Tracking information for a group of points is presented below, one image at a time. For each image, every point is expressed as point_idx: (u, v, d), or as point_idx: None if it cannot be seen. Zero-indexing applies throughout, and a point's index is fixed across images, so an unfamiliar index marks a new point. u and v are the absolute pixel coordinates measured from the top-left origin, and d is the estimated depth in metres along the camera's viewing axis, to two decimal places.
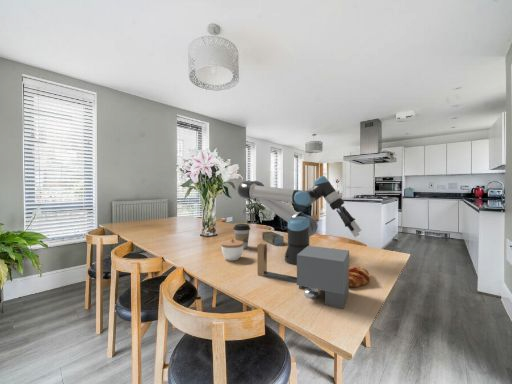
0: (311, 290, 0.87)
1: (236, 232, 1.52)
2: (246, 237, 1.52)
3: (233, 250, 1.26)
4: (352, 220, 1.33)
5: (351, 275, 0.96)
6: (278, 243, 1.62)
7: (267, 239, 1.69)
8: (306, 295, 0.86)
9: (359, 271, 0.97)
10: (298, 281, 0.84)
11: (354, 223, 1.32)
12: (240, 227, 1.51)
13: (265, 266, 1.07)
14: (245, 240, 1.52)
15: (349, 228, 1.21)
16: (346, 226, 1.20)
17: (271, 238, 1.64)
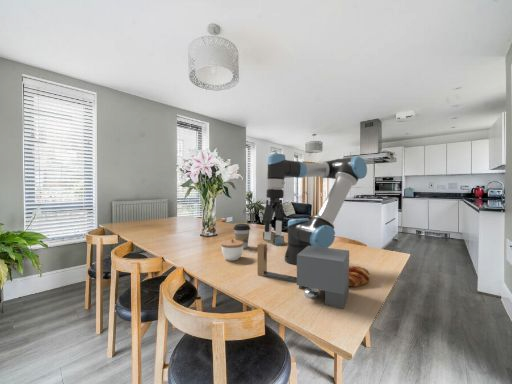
0: (311, 290, 0.87)
1: (236, 232, 1.52)
2: (246, 237, 1.52)
3: (233, 250, 1.26)
4: (280, 219, 1.10)
5: (350, 275, 0.96)
6: (279, 243, 1.62)
7: None
8: (306, 295, 0.86)
9: (358, 271, 0.97)
10: (298, 281, 0.84)
11: (279, 224, 1.09)
12: (240, 227, 1.51)
13: (265, 266, 1.07)
14: (245, 240, 1.52)
15: (265, 227, 0.97)
16: (263, 223, 0.97)
17: (272, 238, 1.64)
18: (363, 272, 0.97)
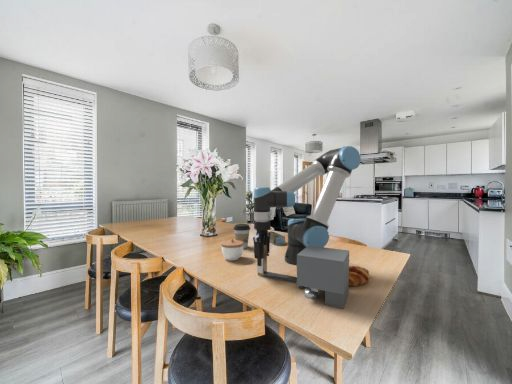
0: (311, 290, 0.87)
1: (236, 232, 1.52)
2: (246, 237, 1.52)
3: (233, 250, 1.26)
4: None
5: (349, 274, 0.97)
6: (279, 243, 1.62)
7: None
8: (306, 295, 0.86)
9: (358, 270, 0.97)
10: (298, 281, 0.84)
11: None
12: (240, 227, 1.51)
13: (265, 266, 1.07)
14: (245, 240, 1.52)
15: None
16: None
17: (272, 238, 1.64)
18: (362, 272, 0.97)
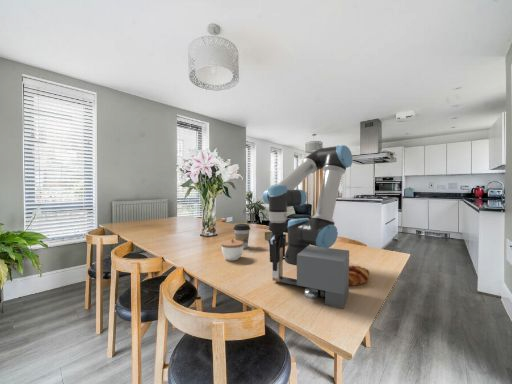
0: (311, 290, 0.87)
1: (236, 232, 1.52)
2: (246, 237, 1.52)
3: (233, 250, 1.26)
4: None
5: None
6: None
7: None
8: (306, 295, 0.86)
9: (357, 270, 0.98)
10: (298, 281, 0.84)
11: None
12: (240, 227, 1.51)
13: (281, 271, 0.99)
14: (245, 240, 1.52)
15: None
16: None
17: None
18: (362, 272, 0.97)
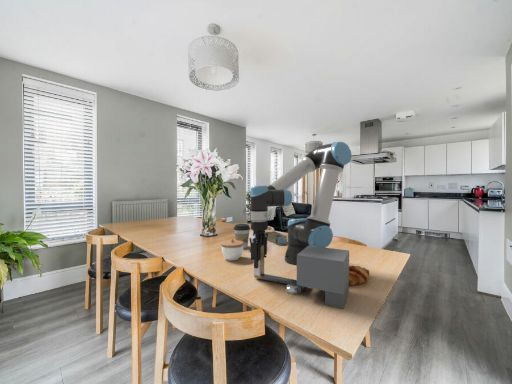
0: (292, 286, 0.91)
1: (236, 232, 1.52)
2: (246, 237, 1.52)
3: (233, 250, 1.26)
4: None
5: None
6: (281, 243, 1.62)
7: (270, 239, 1.70)
8: (287, 291, 0.90)
9: (356, 270, 0.98)
10: (298, 281, 0.84)
11: None
12: (240, 227, 1.51)
13: (262, 268, 1.02)
14: (245, 240, 1.52)
15: None
16: None
17: (274, 238, 1.65)
18: (361, 271, 0.98)
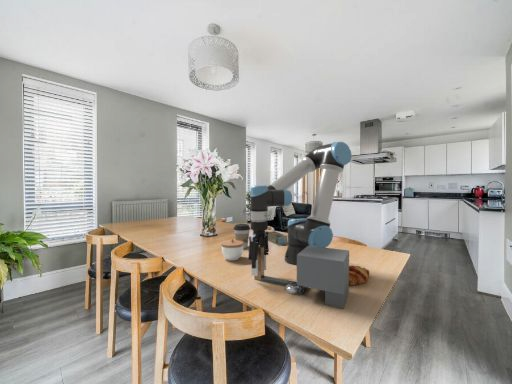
0: (292, 286, 0.91)
1: (236, 232, 1.52)
2: (246, 237, 1.52)
3: (233, 250, 1.26)
4: (264, 253, 1.06)
5: None
6: (281, 243, 1.62)
7: (270, 239, 1.70)
8: (287, 291, 0.90)
9: (356, 270, 0.98)
10: (298, 281, 0.84)
11: None
12: (240, 227, 1.51)
13: (262, 270, 1.02)
14: (245, 240, 1.52)
15: (252, 263, 0.99)
16: None
17: (275, 238, 1.65)
18: (361, 271, 0.98)
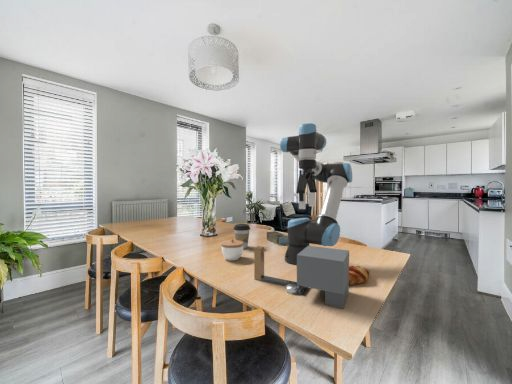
0: (292, 286, 0.91)
1: (236, 232, 1.52)
2: (246, 237, 1.52)
3: (233, 250, 1.26)
4: (313, 191, 1.10)
5: None
6: (282, 243, 1.63)
7: (271, 239, 1.70)
8: (287, 291, 0.90)
9: (356, 270, 0.98)
10: (298, 281, 0.84)
11: (312, 195, 1.09)
12: (240, 227, 1.51)
13: (262, 270, 1.02)
14: (245, 240, 1.52)
15: None
16: None
17: (275, 238, 1.65)
18: (360, 271, 0.98)
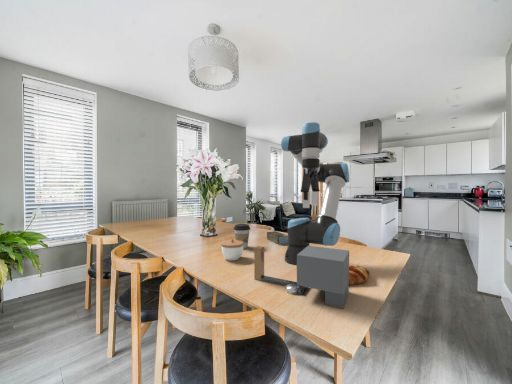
0: (292, 286, 0.91)
1: (236, 232, 1.52)
2: (246, 237, 1.52)
3: (233, 250, 1.26)
4: (315, 190, 1.10)
5: None
6: (283, 243, 1.63)
7: (272, 239, 1.70)
8: (287, 291, 0.90)
9: (355, 269, 0.99)
10: (298, 281, 0.84)
11: (315, 194, 1.09)
12: (240, 227, 1.51)
13: (262, 270, 1.02)
14: (245, 240, 1.52)
15: (303, 195, 0.98)
16: None
17: (276, 238, 1.65)
18: (360, 271, 0.98)
